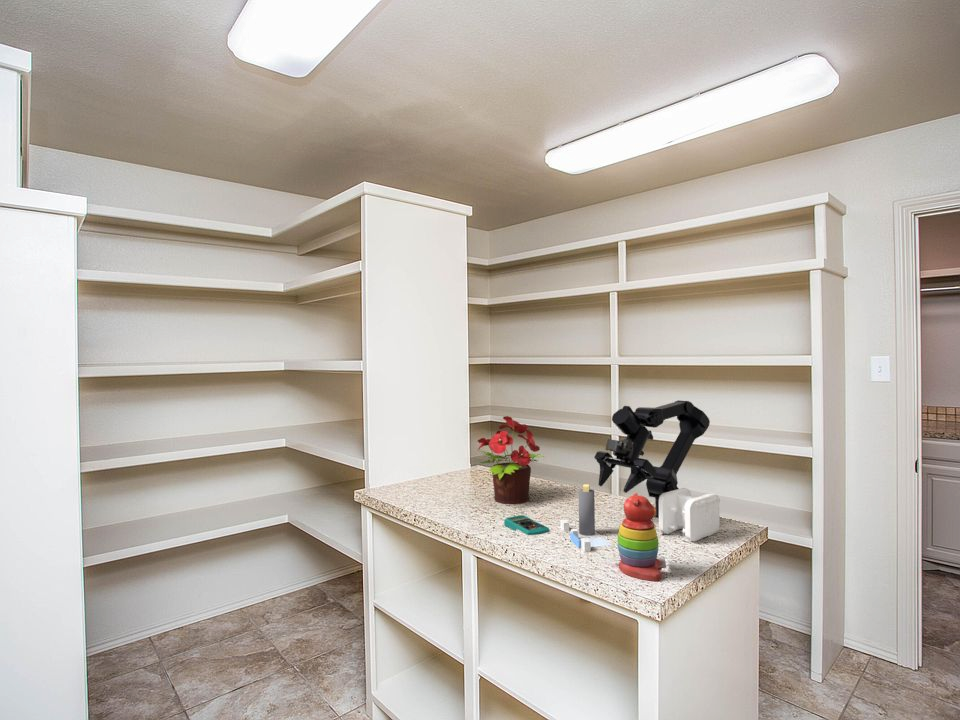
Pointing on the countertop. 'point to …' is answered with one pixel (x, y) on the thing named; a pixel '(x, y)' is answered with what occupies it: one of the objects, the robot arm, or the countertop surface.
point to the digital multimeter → (525, 525)
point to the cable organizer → (689, 513)
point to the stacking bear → (639, 540)
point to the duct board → (583, 542)
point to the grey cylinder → (586, 511)
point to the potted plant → (510, 464)
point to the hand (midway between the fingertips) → (611, 488)
